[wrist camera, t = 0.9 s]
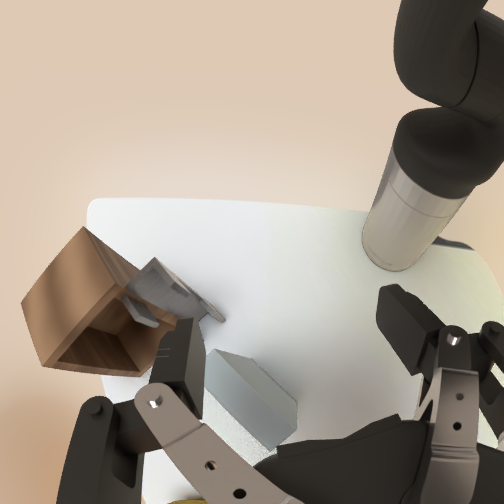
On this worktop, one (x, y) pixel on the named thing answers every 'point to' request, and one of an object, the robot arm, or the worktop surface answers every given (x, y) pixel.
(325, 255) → the worktop surface
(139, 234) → the worktop surface
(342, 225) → the worktop surface
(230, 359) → the door
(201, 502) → the flower pot
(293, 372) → the worktop surface
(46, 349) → the cabinet
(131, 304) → the hinge clips
